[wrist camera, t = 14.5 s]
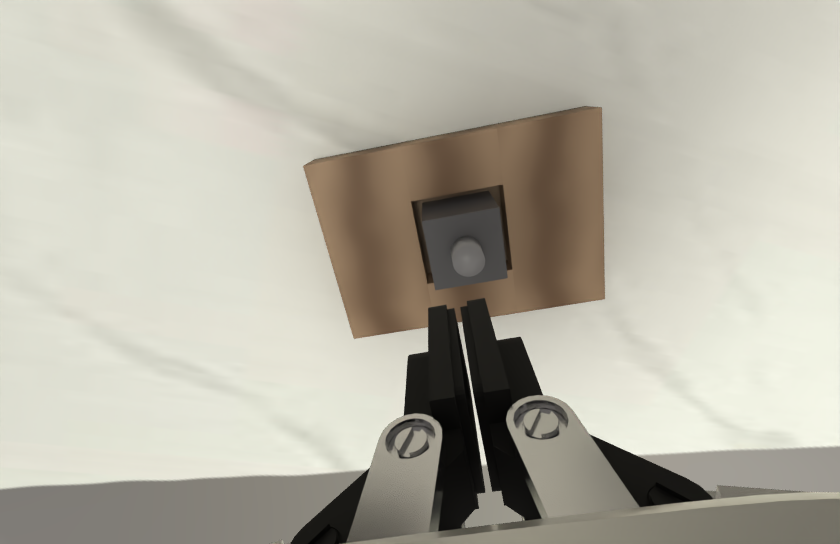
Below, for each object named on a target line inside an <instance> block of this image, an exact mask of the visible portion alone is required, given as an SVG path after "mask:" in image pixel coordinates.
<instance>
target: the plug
mask: <svg viewBox="0 0 840 544" xmlns="http://www.w3.org/2000/svg"><path fill="white" fill-rule="evenodd" d="M422 225H423V230H424V236H425V241H426V246H427V251H428V256H429V261H430V266H431V271H432V276H433V281H434V286H435V290H441V289H447V288H453V287H459V286H465V285H471V284H477V283H483V282H489V281H495V280H501V279H506V278H508V275H507V267H506V258H505V250H504V242H503V233H502V225H501V216H500V208H499V206H498V204H497V203H496V201H495V200H494V198H493V197H492V195H491V194H490V192H489V191H482V192H477V193H472V194H466V195H461V196H456V197H450V198H445V199H440V200H434V201H429V202H423V203H422Z"/></svg>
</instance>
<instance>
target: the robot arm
mask: <svg viewBox="0 0 840 544" xmlns="http://www.w3.org/2000/svg"><path fill="white" fill-rule="evenodd" d="M460 310H461V316H462V323H463V329H464V336H465V342H466V349H467V355H468V362H469V368H470V375H471V382H472V388H473V394H474V399H475V405H476V410H477V415H478V420H479V425H480V430H481V436H482V441H483V446H484V451H485V456H486V461H487V466H488V471H489V476H490V482H491V487H492V491H502V496H503V501H504V505H506V506H508V507H509V508H511V509H512V510H514V511H515V512H517V513H518V514H520V515H521V516H522V521H519V522H511V523H503V524H495V525H487V526H479V527H471V528H466V527H465V520H466V519H467V518H468V517H469V515H470V514H471V513H472V512H473V511H474V510H475V509H479V506H478V498H477V494H478V493H485V486H484V479H483V473H482V466H481V459H480V452H479V445H478V438H477V431H476V424H475V418H474V411H473V404H472V397H471V390H470V385H469V379H468V374H467V369H466V364H465V359H464V354H463V349H462V344H461V339H460V334H459V329H458V324H457V319H456V313H455V309H454V308H452V309H447V305H441V306H435V307H429V308H428V352H425V353H418V354H412V355H409V356H408V364H407V378H406V393H405V407H404V416H402V417H400V418H397V419H396V420H394V421H393V422H391V423H390V424H389V425H388V426H387V427H386V428H385V429H384V430H383V432H382V434H381V436H380V438H379V440H378V444H377V447H376V450H375V453H374V456H373V460H372V463H371V466H370V468H369V469H368V470H367V471H366V472H365V473H363V474H362V475H361V476H360V477H359V478H358V479H357V480H356V481H354V482H353V483H352V484H351V485H350V486H349V487H348V488H347V489H345V490H344V491H343V492H342V493H341V494H340V495H339V496H338V497H336V498H335V499H334V500H333V501H332V502H331V503H330V504H329V505H327V506H326V507H325V508H324V509H323V510H322V511H321V512H320V513H318V514H317V515H316V516H315V517H314V518H313V519H312V520H311V521H310V522H309V523H307V524H306V525H305V526H304V527H303V528H302V529H301V530H300V531H299V532H298V533H297V535H296V536H295V537H294V539H293V540H292V542H291V543H288V544H840V492H827V493H826V492H803V491H790V490H776V489H762V488H748V487H735V486H721V485H717V487H716V491H705V490H704V489H703V488H702V487H700V486H699V485H697V484H696V483H694V482H692V481H690V480H689V479H687V478H685V477H683V476H680V475H678V474H676V473H674V472H671V471H669V470H667V469H665V468H663V467H660V466H658V465H656V464H654V463H652V462H649V461H647V460H645V459H643V458H641V457H638V456H636V455H634V454H632V453H630V452H627V451H625V450H623V449H621V448H618V447H616V446H614V445H612V444H610V443H607V442H605V441H603V440H601V439H599V438H596V437H594V436H592V435H590V434H589V433H588V432H587V430H586V429H585V427H584V426H583V424H582V423H581V421H580V420H579V419H578V417H577V416H576V414H575V413H574V411H573V410H572V409H571V408H570V407H569V406H568V405H567V404H566V403H564V402H563V401H561V400H559V399H557V398H554V397H550V396H543V394H542V391H541V389H540V386H539V383H538V381H537V378H536V375H535V373H534V370H533V367H532V365H531V362H530V360H529V357H528V354H527V352H526V349H525V346H524V344H523V341H522V339H521V337H516V338H510V339H504V340H496V337H495V333H494V329H493V326H492V322H491V319H490V315H489V311H488V308H487V304H486V300H485V298H481V299H475V300H469V301H467V306H463V307H460ZM271 544H284V542H283V540H279V541H276V542H273V543H271Z"/></svg>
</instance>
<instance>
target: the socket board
mask: <svg viewBox="0 0 840 544" xmlns="http://www.w3.org/2000/svg"><path fill="white" fill-rule="evenodd" d="M303 168H304V171H305V174H306V178H307V181H308V185H309V188H310V191H311V195H312V198H313V201H314V205H315V208H316V212H317V215H318V218H319V222H320V225H321V229H322V232H323V235H324V239H325V242H326V246H327V249H328V252H329V256H330V259H331V263H332V266H333V269H334V273H335V276H336V280H337V283H338V286H339V290H340V293H341V297H342V300H343V303H344V307H345V310H346V314H347V317H348V320H349V324H350V327H351V330H352V334H353V337H354V339H355V338H362V337H368V336H374V335H381V334H387V333H393V332H400V331H406V330H412V329H419V328H425V327H428V308H429V307H435V306H441V305H447V309H452V308H454V309H455V313H456V319H457V322H462V316H461V310H460V307H463V306H467V301H469V300H475V299H481V298H485V300H486V304H487V308H488V311H489V315H490V317H495V316H501V315H507V314H514V313H520V312H526V311H533V310H539V309H545V308H551V307H558V306H564V305H570V304H577V303H583V302H589V301H596V300H602V299H605V278H604V215H603V152H602V107H588V106H584V107H579V108H574V109H569V110H564V111H559V112H554V113H548V114H543V115H538V116H533V117H528V118H523V119H518V120H513V121H508V122H503V123H498V124H493V125H488V126H483V127H477V128H472V129H467V130H462V131H457V132H452V133H447V134H442V135H437V136H432V137H427V138H422V139H417V140H412V141H406V142H401V143H396V144H391V145H386V146H381V147H376V148H371V149H366V150H361V151H356V152H351V153H346V154H341V155H335V156H330V157H325V158H320V159H315V160H313V161H311V162H309V163H308V164H306V165H304V166H303ZM482 191H489V192H490V194H491V195H492V197H493V198H494V200H495V201H496V203H497V204H498V206H499V208H500V216H501V225H502V233H503V242H504V250H505V258H506V267H507V275H508V278H506V279H501V280H495V281H489V282H483V283H477V284H471V285H465V286H459V287H453V288H447V289H441V290H435V286H434V281H433V276H432V271H431V266H430V261H429V256H428V251H427V246H426V241H425V236H424V230H423V225H422V203H423V202H429V201H434V200H440V199H445V198H450V197H456V196H461V195H466V194H472V193H477V192H482Z"/></svg>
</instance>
